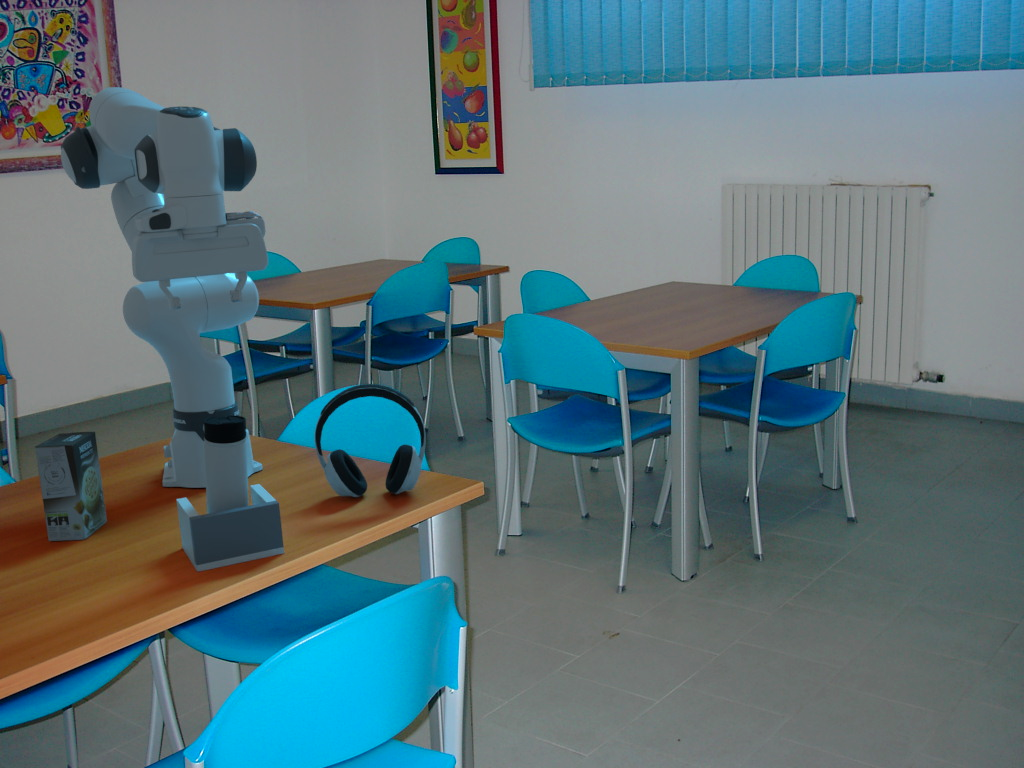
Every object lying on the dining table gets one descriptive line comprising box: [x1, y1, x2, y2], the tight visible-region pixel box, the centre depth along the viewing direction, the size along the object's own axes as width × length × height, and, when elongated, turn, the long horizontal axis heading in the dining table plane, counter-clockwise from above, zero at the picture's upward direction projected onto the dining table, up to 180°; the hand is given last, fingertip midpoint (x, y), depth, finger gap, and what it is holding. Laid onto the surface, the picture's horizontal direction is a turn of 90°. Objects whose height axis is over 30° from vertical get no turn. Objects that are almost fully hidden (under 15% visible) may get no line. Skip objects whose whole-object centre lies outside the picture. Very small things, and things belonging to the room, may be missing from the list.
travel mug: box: [204, 415, 250, 514], centre depth 166 cm, size 6×7×20 cm
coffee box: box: [34, 431, 108, 542], centre depth 179 cm, size 9×6×16 cm
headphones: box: [314, 383, 427, 498], centre depth 189 cm, size 19×8×20 cm, turn 95°
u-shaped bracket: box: [176, 483, 285, 573], centre depth 167 cm, size 12×13×8 cm
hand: (206, 305), depth 169 cm, fingers open, 8 cm apart
